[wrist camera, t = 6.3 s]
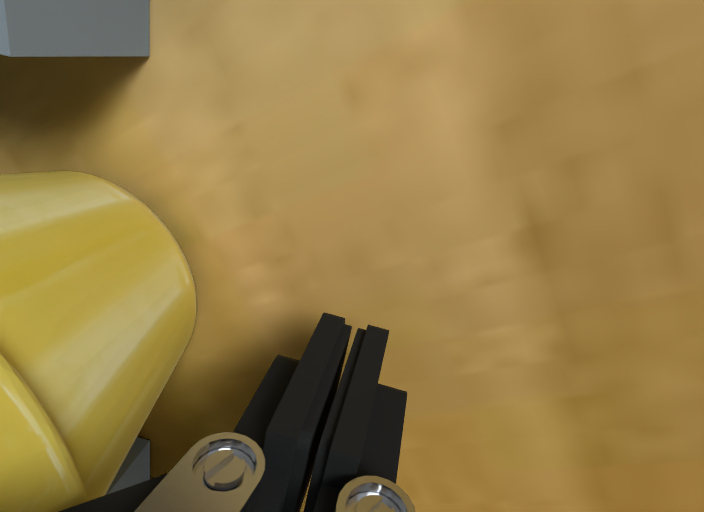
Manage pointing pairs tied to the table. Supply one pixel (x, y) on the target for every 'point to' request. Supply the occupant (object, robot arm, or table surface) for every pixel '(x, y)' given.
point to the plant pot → (81, 333)
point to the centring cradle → (82, 40)
